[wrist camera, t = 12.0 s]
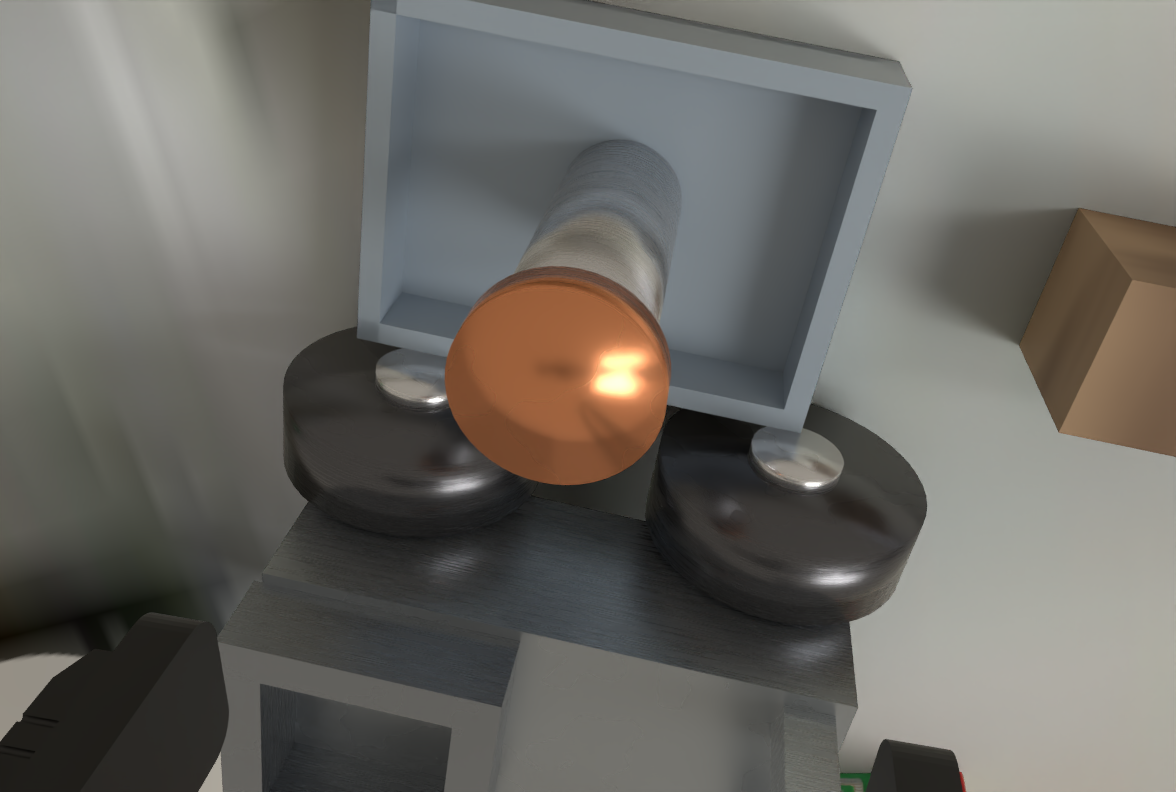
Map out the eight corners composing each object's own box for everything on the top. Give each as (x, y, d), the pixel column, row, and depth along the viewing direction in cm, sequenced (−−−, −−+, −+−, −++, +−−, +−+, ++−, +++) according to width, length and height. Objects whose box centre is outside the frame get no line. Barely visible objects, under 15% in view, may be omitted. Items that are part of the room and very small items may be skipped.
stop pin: (713, 140, 25) (688, 316, 17) (680, 283, 27) (644, 505, 19) (556, 109, 26) (454, 268, 17) (536, 254, 28) (435, 459, 19)
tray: (899, 61, 24) (912, 88, 22) (798, 384, 29) (800, 433, 27) (406, -36, 25) (371, -19, 23) (387, 297, 30) (357, 338, 27)
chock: (1278, 246, 25) (1368, 327, 21) (1203, 381, 27) (1273, 477, 24) (1077, 206, 26) (1132, 279, 22) (1018, 344, 28) (1059, 432, 24)
